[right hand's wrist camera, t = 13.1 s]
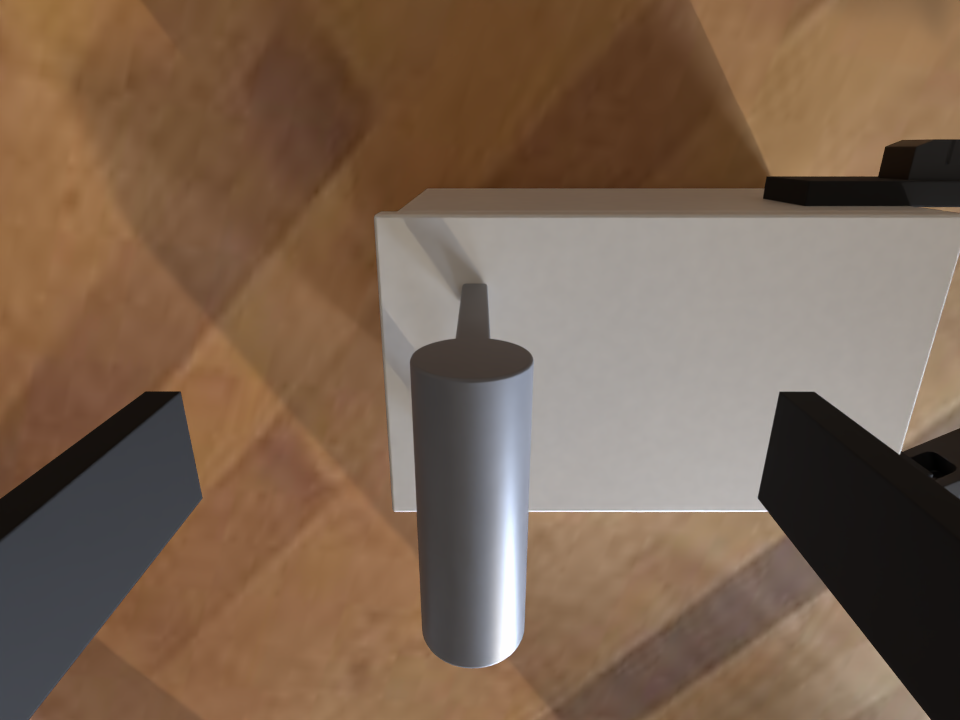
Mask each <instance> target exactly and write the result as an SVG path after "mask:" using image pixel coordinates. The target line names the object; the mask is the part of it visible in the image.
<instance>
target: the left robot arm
mask: <svg viewBox="0 0 960 720" xmlns="http://www.w3.org/2000/svg"><path fill="white" fill-rule="evenodd" d="M763 199H767V200H773V201H779V202H784V203H790V204H796V205H801V206H912V207H960V140H901V141H899V142H896V143H894V144H891V145H889V146H886V147H885V150H884V155H883V159H882V163H881V167H880V172H879V176H878V177H766V183H765V189H764V195H763ZM900 455H901V456H902V457H903V458H905V459H906V460H908V461H909V462H910V463H912V464H913V465H914V466H916V467H917V468H918V469H920V470H921V471H922V472H924V473H925V474H926V475H928V476H929V477H931V478H932V479H933V480H935V481H936V482H937V483H939V484H940V485H941V486H943V487H944V488H945V489H947V490H948V491H949V492H951V493H952V494H954V495H955V496H956V497H958V498H959V499H960V428H959V429H957V430H955V431H952V432H950V433H947V434H945V435H942V436H940V437H938V438H935V439H933V440H930V441H928V442H925V443H923V444H921V445H918V446H916V447H913V448H911V449H908V450H906V451H904V452H901V453H900Z"/></svg>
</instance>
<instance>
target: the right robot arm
mask: <svg viewBox="0 0 960 720" xmlns="http://www.w3.org/2000/svg"><path fill="white" fill-rule="evenodd" d="M201 500H202V493H201V489H200V484H199V479H198V474H197V469H196V464H195V459H194V454H193V450H192V445H191V440H190V435H189V430H188V425H187V420H186V415H185V411H184V406H183V401H182V396H181V392H144V393H143V394H142V395H140V396H139V397H138V398H136V399H135V400H134V401H132V402H131V403H130V404H128V405H127V406H125V407H124V408H123V409H121V410H120V411H119V412H117V413H116V414H115V415H113V416H112V417H111V418H109V419H108V420H107V421H105V422H104V423H102V424H101V425H100V426H98V427H97V428H96V429H94V430H93V431H92V432H90V433H89V434H88V435H86V436H85V437H84V438H82V439H81V440H80V441H78V442H77V443H75V444H74V445H73V446H71V447H70V448H69V449H67V450H66V451H65V452H63V453H62V454H61V455H59V456H58V457H57V458H55V459H54V460H52V461H51V462H50V463H48V464H47V465H46V466H44V467H43V468H42V469H40V470H39V471H38V472H36V473H35V474H34V475H32V476H31V477H29V478H28V479H27V480H25V481H24V482H23V483H21V484H20V485H19V486H17V487H16V488H15V489H13V490H12V491H11V492H9V493H8V494H6V495H5V496H4V497H2V498H1V499H0V720H29V719H30V718H31V716H32V715H33V714H34V713H35V711H36V710H37V709H38V707H39V706H40V705H41V704H42V702H43V701H44V700H45V698H46V697H47V696H48V695H49V693H50V692H51V691H52V690H53V688H54V687H55V686H56V684H57V683H58V682H59V681H60V679H61V678H62V677H63V676H64V674H65V673H66V672H67V670H68V669H69V668H70V667H71V665H72V664H73V663H74V661H75V660H76V659H77V658H78V656H79V655H80V654H81V653H82V651H83V650H84V649H85V647H86V646H87V645H88V644H89V642H90V641H91V640H92V639H93V637H94V636H95V635H96V633H97V632H98V631H99V630H100V628H101V627H102V626H103V625H104V623H105V622H106V621H107V619H108V618H109V617H110V616H111V614H112V613H113V612H114V610H115V609H116V608H117V607H118V605H119V604H120V603H121V602H122V600H123V599H124V598H125V596H126V595H127V594H128V593H129V591H130V590H131V589H132V588H133V586H134V585H135V584H136V582H137V581H138V580H139V579H140V577H141V576H142V575H143V573H144V572H145V571H146V570H147V568H148V567H149V566H150V565H151V563H152V562H153V561H154V559H155V558H156V557H157V556H158V554H159V553H160V552H161V551H162V549H163V548H164V547H165V545H166V544H167V543H168V542H169V540H170V539H171V538H172V537H173V535H174V534H175V533H176V531H177V530H178V529H179V528H180V526H181V525H182V524H183V522H184V521H185V520H186V519H187V517H188V516H189V515H190V514H191V512H192V511H193V510H194V508H195V507H196V506H197V505H198V503H199V502H200V501H201ZM758 500H759V501H760V502H761V503H762V505H763V506H764V507H765V508H766V510H767V511H768V512H769V514H770V515H771V516H772V517H773V519H774V520H775V521H776V522H777V524H778V525H779V526H780V528H781V529H782V530H783V531H784V533H785V534H786V535H787V537H788V538H789V539H790V540H791V542H792V543H793V544H794V545H795V547H796V548H797V549H798V551H799V552H800V553H801V554H802V556H803V557H804V558H805V559H806V561H807V562H808V563H809V565H810V566H811V567H812V568H813V570H814V571H815V572H816V573H817V575H818V576H819V577H820V579H821V580H822V581H823V582H824V584H825V585H826V586H827V588H828V589H829V590H830V591H831V593H832V594H833V595H834V596H835V598H836V599H837V600H838V602H839V603H840V604H841V605H842V607H843V608H844V609H845V610H846V612H847V613H848V614H849V616H850V617H851V618H852V619H853V621H854V622H855V623H856V625H857V626H858V627H859V628H860V630H861V631H862V632H863V633H864V635H865V636H866V637H867V639H868V640H869V641H870V642H871V644H872V645H873V646H874V647H875V649H876V650H877V651H878V653H879V654H880V655H881V656H882V658H883V659H884V660H885V661H886V663H887V664H888V665H889V667H890V668H891V669H892V670H893V672H894V673H895V674H896V676H897V677H898V678H899V679H900V681H901V682H902V683H903V684H904V686H905V687H906V688H907V690H908V691H909V692H910V693H911V695H912V696H913V697H914V698H915V700H916V701H917V702H918V704H919V705H920V706H921V707H922V709H923V710H924V711H925V713H926V714H927V715H928V716H929V718H930V719H931V720H960V499H959V498H958V497H956V496H955V495H954V494H952V493H951V492H949V491H948V490H947V489H945V488H944V487H943V486H941V485H940V484H939V483H937V482H936V481H935V480H933V479H932V478H931V477H929V476H928V475H926V474H925V473H924V472H922V471H921V470H920V469H918V468H917V467H916V466H914V465H913V464H912V463H910V462H909V461H908V460H906V459H905V458H903V457H902V456H901V455H899V454H898V453H897V452H895V451H894V450H893V449H891V448H890V447H889V446H887V445H886V444H885V443H883V442H882V441H880V440H879V439H878V438H876V437H875V436H874V435H872V434H871V433H870V432H868V431H867V430H866V429H864V428H863V427H862V426H860V425H859V424H858V423H856V422H855V421H853V420H852V419H851V418H849V417H848V416H847V415H845V414H844V413H843V412H841V411H840V410H839V409H837V408H836V407H835V406H833V405H832V404H830V403H829V402H828V401H826V400H825V399H824V398H822V397H821V396H820V395H818V394H817V393H816V392H779V396H778V401H777V406H776V411H775V415H774V420H773V425H772V430H771V435H770V440H769V445H768V450H767V454H766V459H765V464H764V469H763V474H762V479H761V484H760V488H759V493H758Z"/></svg>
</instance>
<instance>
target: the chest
mask: <svg viewBox="0 0 960 720" xmlns="http://www.w3.org/2000/svg"><path fill="white" fill-rule="evenodd" d="M764 189H765V188H427V189H426V190H425V191H423V192H422V193H421V194H419V195H418V196H417V197H416V198H414V199H413V200H412V201H410V202H409V203H408V204H406V205H405V206H404V207H403V208H401V209H400V210H399V211H942V210H934V209H927V208H919V207H912V206H801V205H796V204H790V203H784V202H779V201H773V200H767V199H763V195H764Z"/></svg>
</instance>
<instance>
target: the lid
mask: <svg viewBox="0 0 960 720" xmlns="http://www.w3.org/2000/svg"><path fill="white" fill-rule="evenodd" d="M374 227H375V243H376V258H377V274H378V289H379V305H380V321H381V336H382V352H383V367H384V383H385V399H386V414H387V430H388V446H389V461H390V477H391V492H392V508H393V511H395V512H417V528H418V550H419V571H420V593H421V614H422V631H423V636H424V639H425V642H426V644H427V645H428V647H429V648H430V649H431V651H432V652H433V653H434V654H435V655H436V656H437V657H439V658H440V659H442V660H443V661H445V662H447V663H449V664H452V665H455V666H458V667H463V668H482V667H487V666H491V665H494V664H496V663H499V662H501V661H502V660H504V659H506V658H507V657H508V656H510V655H511V654H512V653H513V652H514V651H515V649H516V648H517V647H518V645H519V644H520V642H521V640H522V637H523V634H524V624H525V596H526V567H527V539H528V512H768V511H767V510H766V508H765V507H764V506H763V505H762V503H761V502H760V501H759V500H758V493H759V488H760V484H761V479H762V474H763V469H764V464H765V459H766V454H767V450H768V445H769V440H770V435H771V430H772V425H773V420H774V415H775V411H776V406H777V401H778V396H779V392H816V393H817V394H818V395H820V396H821V397H822V398H824V399H825V400H826V401H828V402H829V403H830V404H832V405H833V406H835V407H836V408H837V409H839V410H840V411H841V412H843V413H844V414H845V415H847V416H848V417H849V418H851V419H852V420H853V421H855V422H856V423H858V424H859V425H860V426H862V427H863V428H864V429H866V430H867V431H868V432H870V433H871V434H872V435H874V436H875V437H876V438H878V439H879V440H880V441H882V442H883V443H885V444H886V445H887V446H889V447H890V448H891V449H893V450H894V451H895V452H897V453H898V454H899V455H900V453H901V449H902V446H903V442H904V439H905V436H906V432H907V429H908V425H909V422H910V419H911V415H912V412H913V409H914V405H915V402H916V398H917V395H918V392H919V388H920V385H921V381H922V378H923V375H924V371H925V368H926V365H927V361H928V358H929V354H930V351H931V348H932V344H933V341H934V337H935V334H936V331H937V327H938V324H939V321H940V317H941V314H942V310H943V307H944V304H945V300H946V297H947V293H948V290H949V287H950V283H951V280H952V277H953V273H954V270H955V266H956V263H957V260H958V256H959V253H960V213H956V212H948V211H381V212H379V213H377V214H376V215H375V216H374Z"/></svg>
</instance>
